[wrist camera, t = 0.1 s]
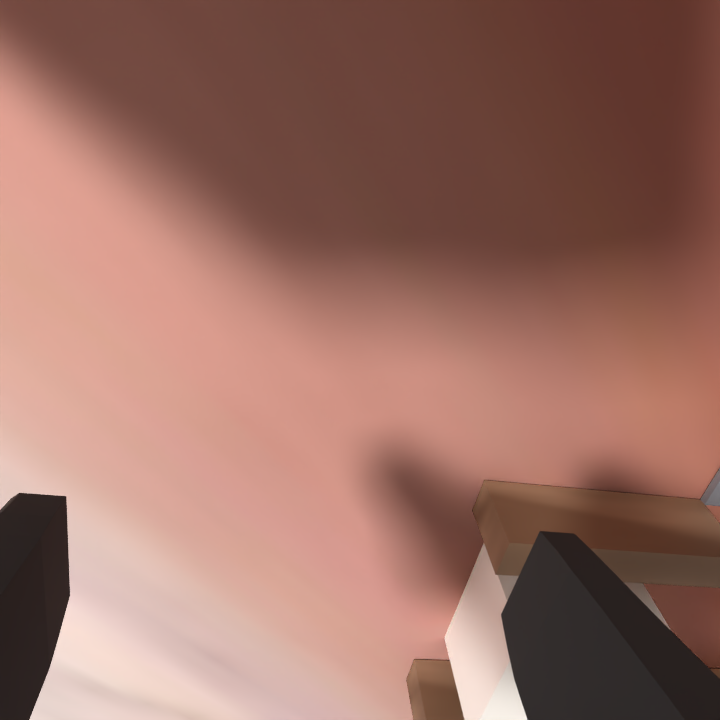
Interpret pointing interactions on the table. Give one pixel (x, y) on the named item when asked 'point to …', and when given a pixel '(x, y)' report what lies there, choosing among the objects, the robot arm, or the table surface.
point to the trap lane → (600, 533)
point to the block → (492, 644)
